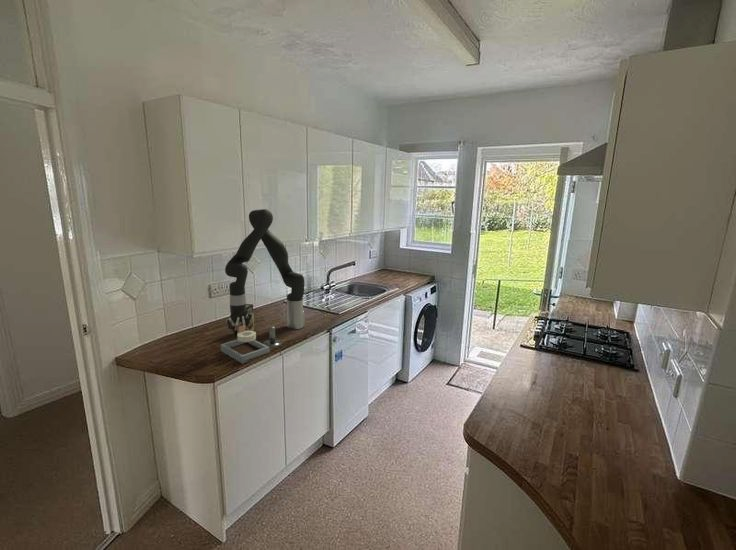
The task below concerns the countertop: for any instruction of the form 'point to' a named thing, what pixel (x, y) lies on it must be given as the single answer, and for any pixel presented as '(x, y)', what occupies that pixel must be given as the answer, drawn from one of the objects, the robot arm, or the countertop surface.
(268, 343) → the stake
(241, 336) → the ring
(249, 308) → the coffee box
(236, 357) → the tray
